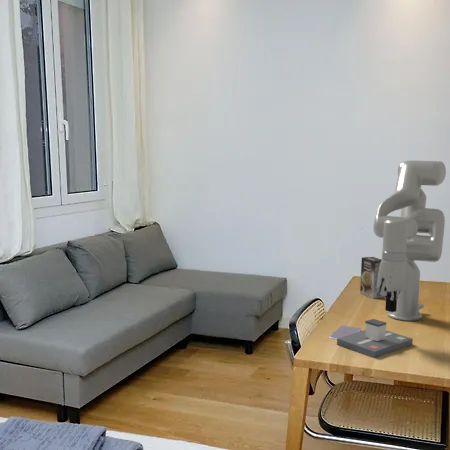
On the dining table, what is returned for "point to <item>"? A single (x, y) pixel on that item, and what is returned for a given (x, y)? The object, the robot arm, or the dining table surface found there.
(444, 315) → the dining table surface
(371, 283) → the coffee box
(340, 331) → the mobile phone
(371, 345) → the switch panel
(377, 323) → the slider knob
